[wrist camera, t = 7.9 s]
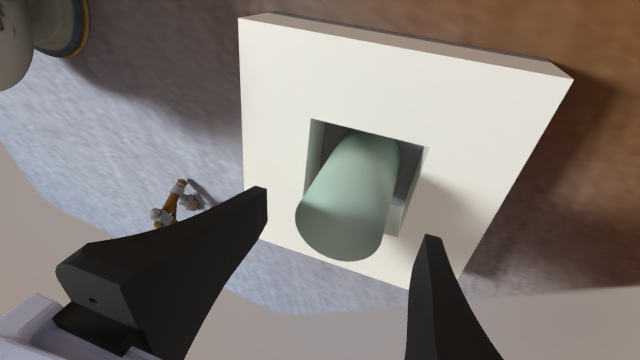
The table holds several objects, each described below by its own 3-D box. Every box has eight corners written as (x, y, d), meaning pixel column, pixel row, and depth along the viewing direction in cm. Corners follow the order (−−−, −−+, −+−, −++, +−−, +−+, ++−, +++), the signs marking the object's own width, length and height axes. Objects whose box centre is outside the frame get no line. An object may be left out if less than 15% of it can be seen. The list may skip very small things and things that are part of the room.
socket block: (545, 58, 14) (574, 79, 11) (444, 256, 22) (444, 302, 19) (275, 11, 17) (237, 17, 14) (270, 202, 25) (246, 234, 22)
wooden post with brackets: (184, 174, 26) (155, 221, 23) (225, 218, 32) (205, 259, 30) (167, 172, 26) (137, 218, 24) (210, 216, 33) (190, 255, 30)
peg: (407, 133, 18) (391, 204, 12) (393, 190, 20) (374, 271, 14) (340, 120, 18) (295, 180, 13) (334, 175, 21) (294, 247, 15)
